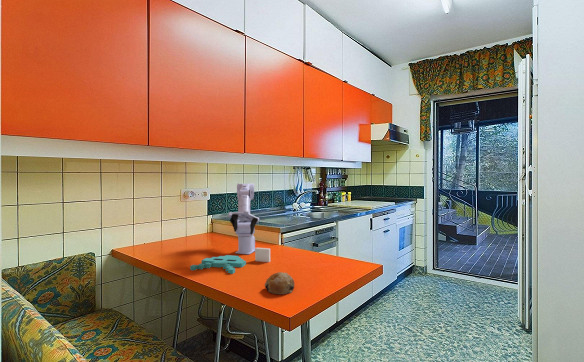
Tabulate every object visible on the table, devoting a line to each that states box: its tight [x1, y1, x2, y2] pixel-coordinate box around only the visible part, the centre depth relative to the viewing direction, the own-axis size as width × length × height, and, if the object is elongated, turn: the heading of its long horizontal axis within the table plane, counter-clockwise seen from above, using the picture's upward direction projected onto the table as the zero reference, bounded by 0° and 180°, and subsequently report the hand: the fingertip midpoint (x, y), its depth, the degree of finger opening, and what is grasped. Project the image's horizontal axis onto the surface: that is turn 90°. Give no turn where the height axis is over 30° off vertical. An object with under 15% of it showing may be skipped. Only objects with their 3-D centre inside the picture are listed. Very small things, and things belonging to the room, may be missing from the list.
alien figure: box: [189, 254, 247, 275], centre depth 144 cm, size 20×2×20 cm
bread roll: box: [264, 271, 295, 295], centre depth 114 cm, size 10×10×8 cm
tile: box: [254, 247, 271, 263], centre depth 149 cm, size 2×7×6 cm, turn 72°
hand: (243, 231), depth 144 cm, fingers open, 7 cm apart
